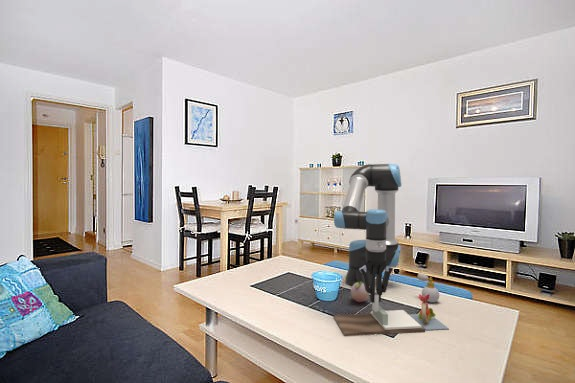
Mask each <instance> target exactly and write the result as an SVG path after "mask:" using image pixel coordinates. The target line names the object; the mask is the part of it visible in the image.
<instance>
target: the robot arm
mask: <svg viewBox="0 0 575 383" xmlns="http://www.w3.org/2000/svg"><path fill="white" fill-rule="evenodd" d="M348 185H349V187H348V190H347V193H346V195H345V199H344V203H343V205H342V208H341V210H336V211H335V212H334V214H333V225H334V227H336V228H338V229H344V230H360V231H361V230H363V231H365V239H358V240H357V239H355V240H353V241H351V242H349V246H348V269H347V273H346V276H345V283H346V284H347V285H348V286H353V285H354V284H355V283H358V282H359V281H360V282H363V284H364V287H365V290H366V292H367V293H370V294H369V298H370V299H369V300H370V302H371V303H372V304H371V310H372V311H373V310H374V311H375V312H379V306H380V305H379V304H380V303H381V302H382V295H383V293H384V294H385V293H386V292H387V289H388V284H389V280H390V276H391V274H392V272H393V271H394V268H397V267H398V265H399V262H400V261H399V260H400V256H401V249H402V246H401V245H400V244H399V242H398V240H397V239H396V193H398V191H399V188H400V187H402V176H401V170H400V166H399V164H396V163H375V164H372V163H370V164H365V165H362V166H360V167H359V168H357V169H355V171H354V172H353V173H351V175H350V178H349V180H348ZM367 187H374V191H375V192H376V193H377V209H376V208H373V209H367V211H360V210H361V207H362V206H361V205H362V204H363V203H362V202H363V198H364V194H365V190H366V189H367Z"/></svg>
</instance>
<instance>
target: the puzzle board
mask: <svg viewBox="0 0 575 383" xmlns="http://www.w3.org/2000/svg"><path fill="white" fill-rule="evenodd" d="M333 319H334V321H335V323H336V324H337V326H338V328H339V330H340V331H341V333H342V335H343V336H344V337H348V336H349V337H352V336H370V335H371V336H372V335H375V334H376V335H393V334H394V333H396V334H412V333H415V334H416V333H426V330H425V329H424V328H423V327H422V328H413V329H392V330H385V329H384V328H383V327H382V326H381V325H380V324H379V322H378V321H377V320H376V319H375V318H374V317H373V315H372V314H371V313H355V314H353V313H351V314H333ZM376 335H375V336H376Z"/></svg>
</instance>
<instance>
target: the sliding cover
mask: <svg viewBox="0 0 575 383" xmlns="http://www.w3.org/2000/svg"><path fill="white" fill-rule="evenodd" d="M370 314H372V315H373V317H374V318H375V319H376V320H377V321H378V322H379V324H380V325H381V326H382V327H383V328H384V329H385V330H392V329H413V328H422V326H421V325H420V324H419V323H418V322H416V321H415V320H414V319H413V318H412V317H411V316H410V315H409V314H408V313H407V311H405V310H403V309H401V310H399V309H397V310H385V309H383V308H382V306H380V305H379V312H375V311H374V310H373V309H372V311H370Z"/></svg>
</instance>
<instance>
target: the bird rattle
mask: <svg viewBox="0 0 575 383" xmlns="http://www.w3.org/2000/svg"><path fill="white" fill-rule="evenodd" d="M429 295H430V294H428V295H426V296H424V297H423V296H422V294H418V299H419V300H420V301H421V309H420V311H419V313H417V314H418V315H419V318H420V319H423V321H424V324H428V321H429V320H431V318H432V317H435V318H436V314H435V312H434V309H433V308H431V307H430V308H429V302H427V300H428V299H429Z"/></svg>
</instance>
